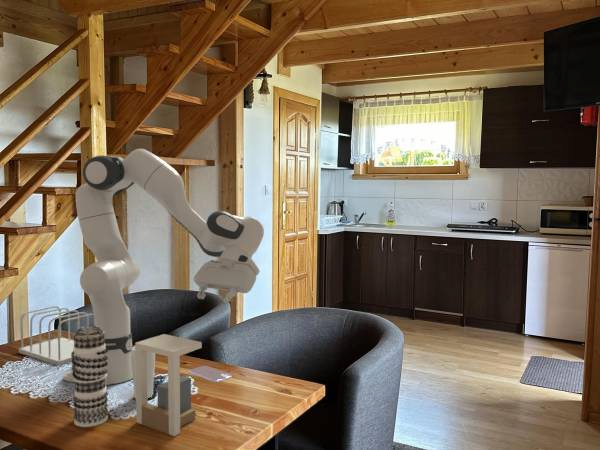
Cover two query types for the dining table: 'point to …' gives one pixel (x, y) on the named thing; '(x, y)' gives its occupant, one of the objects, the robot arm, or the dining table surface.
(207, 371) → the mobile phone
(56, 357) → the file sorter
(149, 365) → the drinking glass
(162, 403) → the slate tile
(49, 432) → the dining table surface
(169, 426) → the shelf
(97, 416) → the decorative candle
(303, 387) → the dining table surface
